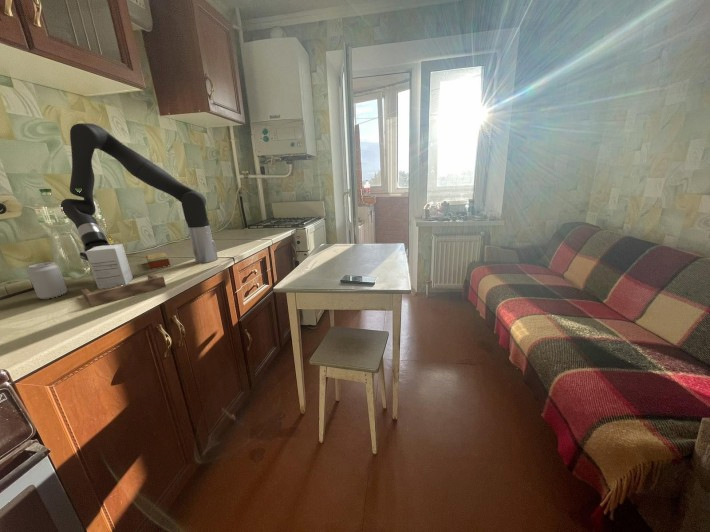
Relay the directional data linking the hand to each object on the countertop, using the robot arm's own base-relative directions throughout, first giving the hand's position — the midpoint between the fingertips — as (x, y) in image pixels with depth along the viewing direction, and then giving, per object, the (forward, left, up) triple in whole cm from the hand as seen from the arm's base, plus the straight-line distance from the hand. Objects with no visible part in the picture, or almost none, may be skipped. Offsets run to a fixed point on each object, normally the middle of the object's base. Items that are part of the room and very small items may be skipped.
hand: (108, 269), depth 113 cm
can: (+17, +4, -5) cm, 18 cm away
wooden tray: (0, +21, -5) cm, 21 cm away
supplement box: (0, +8, -5) cm, 9 cm away
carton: (-20, -10, -5) cm, 23 cm away
